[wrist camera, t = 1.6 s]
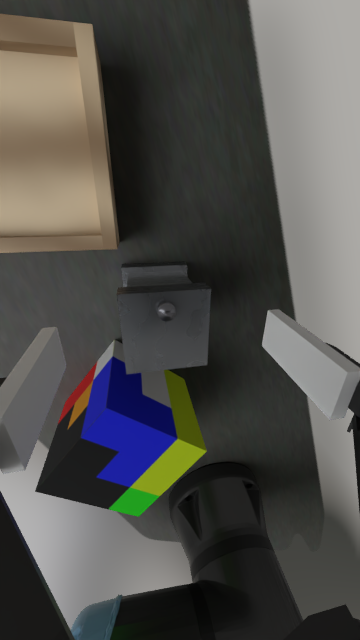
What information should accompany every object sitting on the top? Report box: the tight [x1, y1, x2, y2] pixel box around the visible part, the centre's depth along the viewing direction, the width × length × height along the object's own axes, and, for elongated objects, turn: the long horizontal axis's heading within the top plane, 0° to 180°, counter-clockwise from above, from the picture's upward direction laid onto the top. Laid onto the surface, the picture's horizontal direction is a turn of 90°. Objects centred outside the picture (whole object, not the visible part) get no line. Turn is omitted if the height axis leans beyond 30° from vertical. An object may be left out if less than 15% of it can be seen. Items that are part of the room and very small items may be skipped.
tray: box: [0, 14, 120, 253], centre depth 17 cm, size 12×12×4 cm
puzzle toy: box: [36, 340, 207, 517], centre depth 24 cm, size 10×10×10 cm
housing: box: [117, 262, 211, 374], centre depth 20 cm, size 6×6×10 cm
